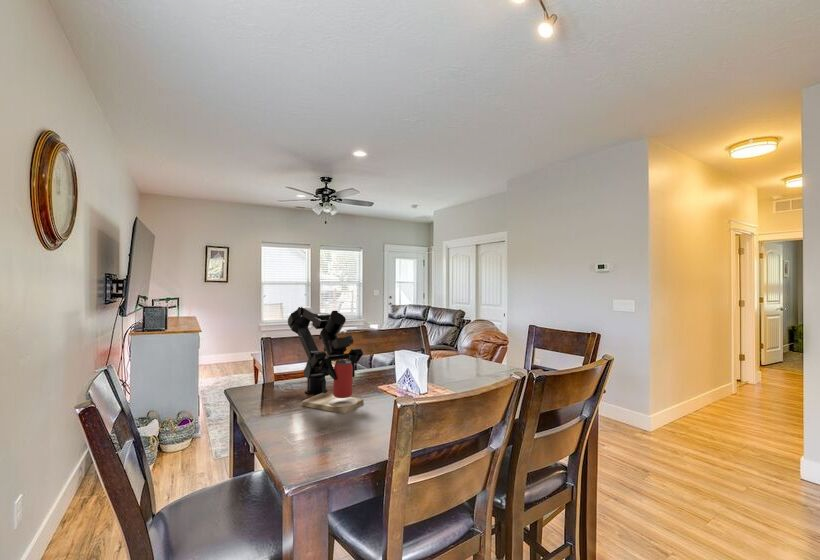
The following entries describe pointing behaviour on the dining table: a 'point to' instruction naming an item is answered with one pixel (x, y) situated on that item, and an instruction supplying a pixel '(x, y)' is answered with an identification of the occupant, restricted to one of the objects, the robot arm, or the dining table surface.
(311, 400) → the birch board
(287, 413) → the dining table surface
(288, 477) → the dining table surface
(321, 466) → the dining table surface
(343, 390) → the beer can
